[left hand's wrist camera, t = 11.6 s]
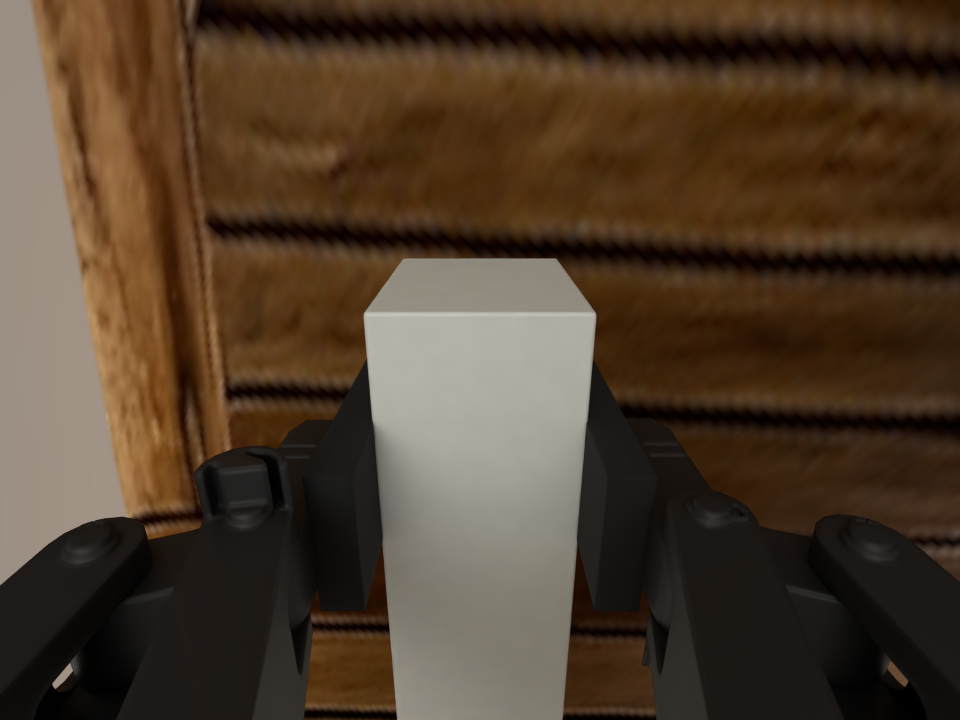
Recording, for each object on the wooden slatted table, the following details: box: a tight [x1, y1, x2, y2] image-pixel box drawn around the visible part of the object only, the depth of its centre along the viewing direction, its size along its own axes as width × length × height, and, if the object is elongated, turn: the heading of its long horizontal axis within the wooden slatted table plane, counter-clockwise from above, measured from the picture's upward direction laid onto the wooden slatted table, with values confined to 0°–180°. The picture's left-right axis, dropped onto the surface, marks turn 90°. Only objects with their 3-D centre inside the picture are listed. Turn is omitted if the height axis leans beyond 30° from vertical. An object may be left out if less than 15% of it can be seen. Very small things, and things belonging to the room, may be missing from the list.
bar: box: [364, 259, 596, 720], centre depth 16 cm, size 4×24×5 cm, turn 0°
